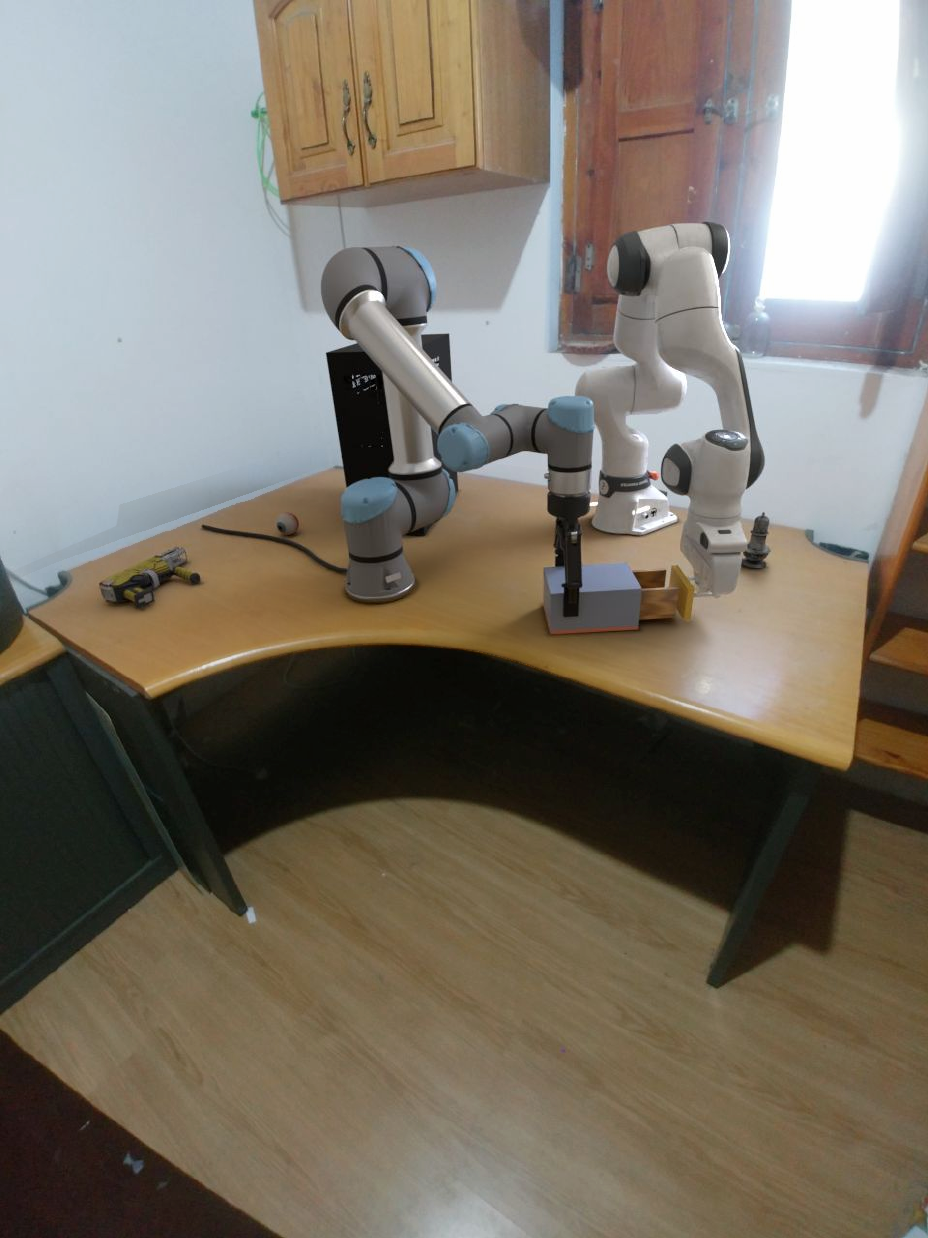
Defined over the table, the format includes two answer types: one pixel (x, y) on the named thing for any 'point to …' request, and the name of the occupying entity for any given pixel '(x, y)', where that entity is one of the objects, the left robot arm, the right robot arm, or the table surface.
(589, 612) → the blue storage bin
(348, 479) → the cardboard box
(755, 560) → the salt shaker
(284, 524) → the eyeball
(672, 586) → the drawer
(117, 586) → the toy gun
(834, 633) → the table surface
